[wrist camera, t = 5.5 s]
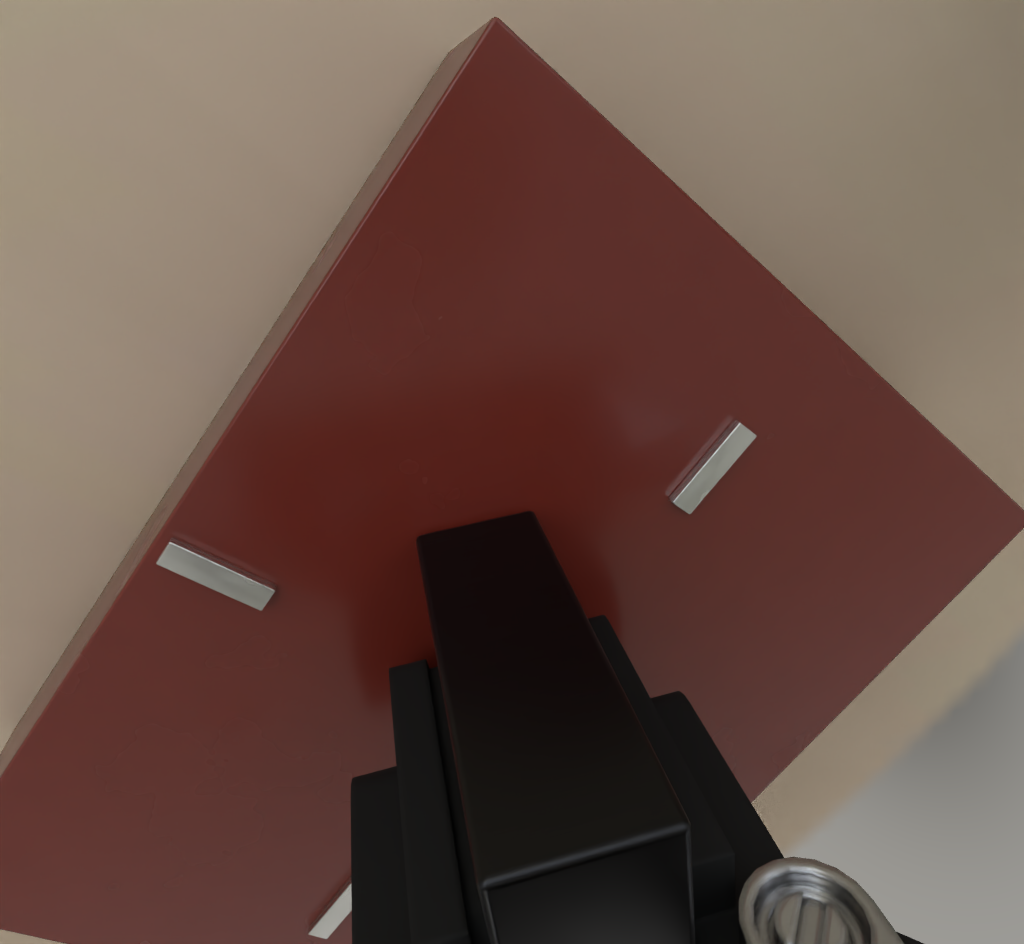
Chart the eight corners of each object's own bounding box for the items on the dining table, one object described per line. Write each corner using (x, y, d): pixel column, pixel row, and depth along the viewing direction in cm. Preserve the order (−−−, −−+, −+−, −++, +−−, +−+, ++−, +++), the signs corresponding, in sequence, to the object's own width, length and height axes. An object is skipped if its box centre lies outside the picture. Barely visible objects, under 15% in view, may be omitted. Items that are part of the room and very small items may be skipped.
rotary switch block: (450, 49, 10) (497, 10, 7) (889, 438, 15) (1042, 523, 12) (12, 732, 13) (-93, 922, 10) (484, 885, 18) (515, 1052, 15)
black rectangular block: (413, 534, 9) (481, 920, 5) (533, 507, 10) (710, 854, 5) (488, 861, 12) (576, 1303, 8) (579, 835, 13) (718, 1250, 8)
